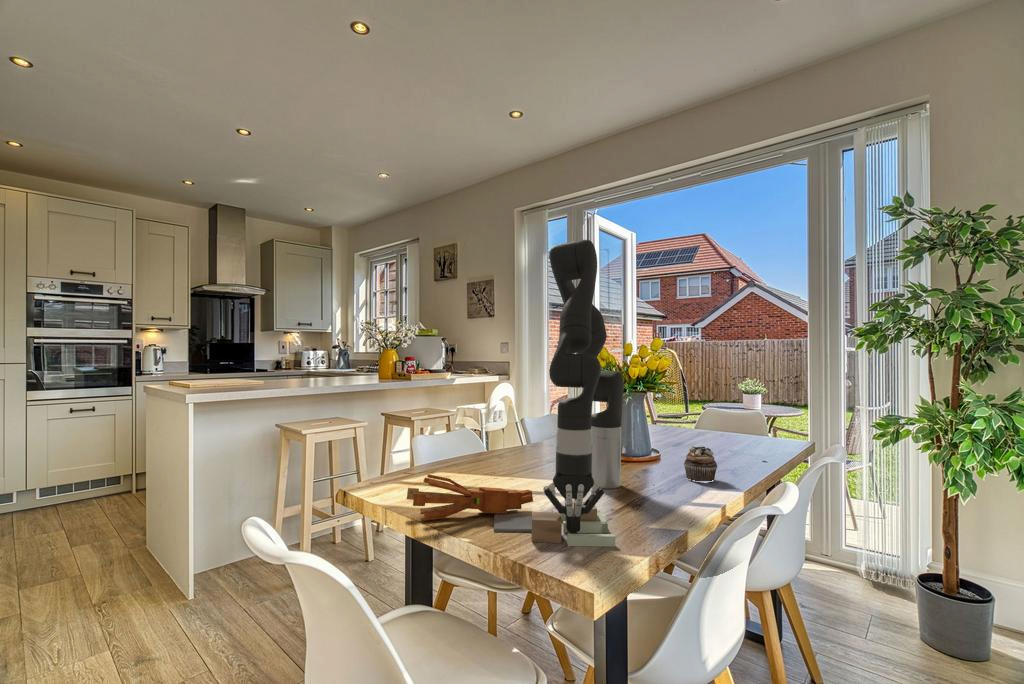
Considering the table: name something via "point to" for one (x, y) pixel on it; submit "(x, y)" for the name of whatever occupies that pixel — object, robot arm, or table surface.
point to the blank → (546, 527)
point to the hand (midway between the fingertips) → (572, 533)
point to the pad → (512, 523)
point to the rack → (590, 530)
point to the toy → (466, 499)
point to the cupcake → (700, 464)
